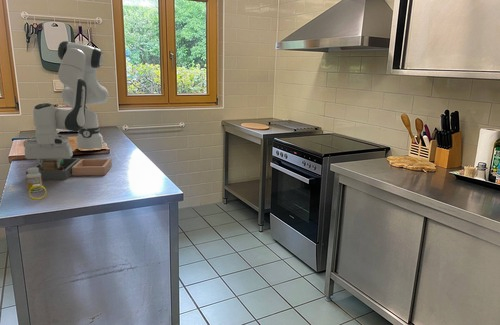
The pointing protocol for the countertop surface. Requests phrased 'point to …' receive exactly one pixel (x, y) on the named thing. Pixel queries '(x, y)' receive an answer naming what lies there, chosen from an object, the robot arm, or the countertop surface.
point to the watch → (36, 187)
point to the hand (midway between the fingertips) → (50, 167)
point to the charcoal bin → (60, 173)
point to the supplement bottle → (34, 179)
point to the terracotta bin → (92, 167)
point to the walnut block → (49, 165)
